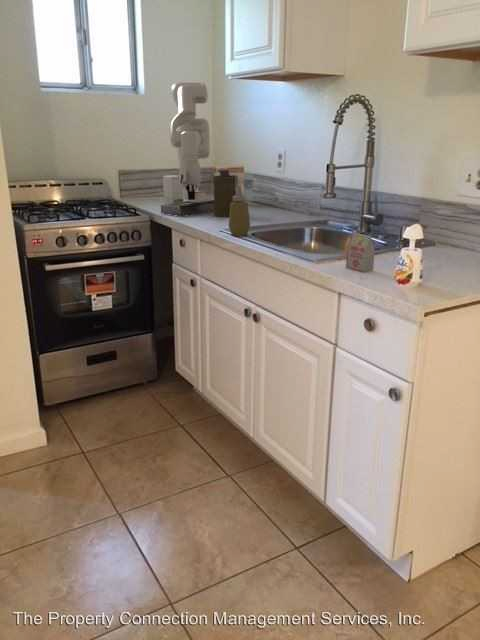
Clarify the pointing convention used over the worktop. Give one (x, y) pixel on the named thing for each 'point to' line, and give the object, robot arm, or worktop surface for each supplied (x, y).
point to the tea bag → (360, 253)
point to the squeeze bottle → (239, 215)
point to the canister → (224, 193)
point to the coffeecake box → (233, 171)
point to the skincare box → (172, 190)
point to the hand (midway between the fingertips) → (191, 199)
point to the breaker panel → (188, 208)
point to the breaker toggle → (199, 196)
